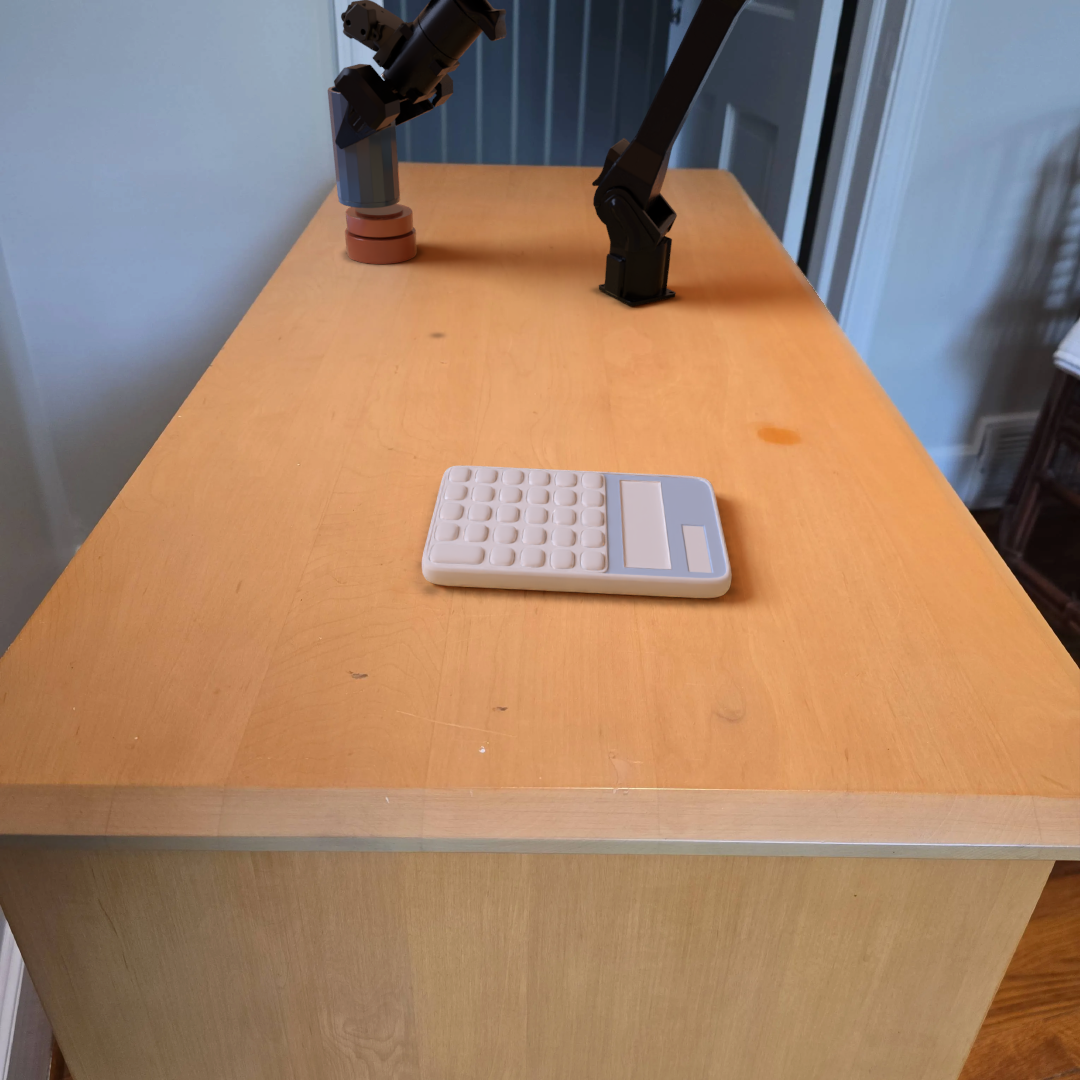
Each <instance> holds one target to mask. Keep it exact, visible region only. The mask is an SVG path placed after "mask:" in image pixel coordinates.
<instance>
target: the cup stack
mask: <svg viewBox="0 0 1080 1080" xmlns="http://www.w3.org/2000/svg"><path fill="white" fill-rule="evenodd" d="M413 214H414V213H413V209H412V208H411V207H410V206H407V205H405V204H400V203H397V204H394V205H391V206H387V207H380V208H355V207H348V208H347V209H346V210H345V221H346V228H345V230H344V239H345V249H346V251H345V252H346V255H347V257H348V258H349V259H351V260H353V261H355V262H359V263H363V264H370V265H371V264H372V265H390V264H397V263H402V262H406V261H409V260H412V259H413V258H414V257H416V256H417V254H418V249H417V248H418V247H417V246H418V245H417V229H416V227H414V215H413Z"/></svg>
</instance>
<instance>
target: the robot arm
mask: <svg viewBox="0 0 1080 1080" xmlns="http://www.w3.org/2000/svg"><path fill="white" fill-rule="evenodd" d="M750 2H751V0H700V2H699V4H698V6H697V9H696V10H695V13H694V15H693V16H692V19H691V21H690V22H689V25H688V27H687V30H686V32H685V33H684V36H683V37H682V39H681V42H680V43H679V46H678V48H677V50H676V52H675V54H674V56H673V58H672V60H671V63H670V64H669V66H668V69H667V71H666V73H665V74H664V76H663V79H662V81H661V83H660V85H659V87H658V88H657V91H656V93H655V95H654V98H653V100H652V102H651V104H650V106H649V108H648V110H647V112H646V113H645V116H644V118H643V120H642V122H641V125H640V127H638V128H639V129H638V130H637V133H636V134H635V136H634V137H633V138H632V140H631V141H628V139H626V138H625V137H623V138H622V139H621V140H619V141H618V142H617V143H615V144H614V145H613V146H611V147H609V148H608V151H607V154H606V157H605V160H604V163H603V167H602V169H601V172H600V174H599V175H598V176H597V178H596V179H594V180H593V181H592V184H591V186H593V187H597V188H596V189H595V192H594V195H593V201H592V205H593V207H594V210H595V214H596V216H597V217H598V219H599V220H600V222H601V223H602V224H603V225H605V227H606V231H607V235H608V238H609V253H607V254H606V259H605V260H606V261H605V275H604V283H601V284H598V291H601V292H602V293H604V294H607V295H608V296H610V297H612V298H613V299H615V300H618V301H620V302H621V303H623V304H626V305H628V306H630V307H635V306H640V305H641V306H642V305H645V304H650V303H654V302H655V303H656V302H660V301H664V300H668V299H673V298H675V297H676V294H677V293H676V291H674V290H671V289H670V288H668V282H669V272H670V271H669V270H670V262H671V253H672V244H673V243H672V242H673V238H671V237H668V236H666V235H667V234H668V233H670V231H671V229H672V227H673V225H674V223H675V221H676V219H677V217H678V213H677V212H676V211H675V210H674V208H673V207H672V205H671V204H670V203H669V202H668V200H666V198H665V197H664V196H663V194H662V193H661V191H662V187H663V184H664V181H665V178H666V175H667V172H668V169H669V168H668V167H669V163H670V158H671V154H672V150H673V148H674V144H675V143H676V141H677V139H678V137H679V135H680V132H681V131H682V129H683V127H684V125H685V123H686V121H687V120H688V117H689V115H690V113H691V111H692V109H693V107H694V106H695V104H696V102H697V100H698V98H699V96H700V93H702V90H703V89H704V86H705V84H706V82H707V80H708V78H709V76H710V74H711V73H712V71H713V69H714V66H715V64H716V63H717V61H718V59H719V57H720V55H721V53H722V51H723V49H724V47H725V45H726V44H727V41H728V39H729V37H730V35H731V33H732V31H733V29H734V27H735V26H736V24H737V22H738V20H739V18H740V15H741V14H742V12H743V11H744V10H745V9H746V7H747V6H748V4H749V3H750ZM506 15H507V11H506V9H505V8H502V9H501V8H500V9H497V8H494V7H493V6H492V4H491V3H490V2H489V1H488V0H430V1H428V3H427V4H426V5H425V7H424V8H423V9H422V10H421V11H420V12H419V14H418V15H417V17H416V18H415V19H414V20H413V21H410V22H408V21H404V20H403V19H401V17H399V16H398V15H396V14H394V13H392V12H391V11H390V10H388V9H386V8H385V7H383V6H381V5H380V4H378V3H376V2H375V1H372V0H354V1H351V3H350V4H348V5H347V8H346V10H345V11H344V12H341V14H340V19H341V21H342V22H343V23H342V28H343V30H342V33H343V34H344V36H346V37H347V38H349V39H350V40H352V39H354V40H355V41H357V42H358V43H360V44H362V45H363V46H365V47H366V48H368V49H370V50H371V51H374V52H376V53H374V55H373V56H372V59H373V61H374V62H375V63H376V64H377V65H378V67H379V68H382V69H383V70H384V71H383V72H382V73H381V74H379V73H378V72H377V71H376V69H375V68H374V67H373V65H372V64H366V63H365V64H364V63H357V64H354V65H350V66H346V67H343V68H342V70H341V71H340V72H339V73H338V75H337V76H336V78H335V79H334V80H333V84H334V86H335V87H336V88H337V89H338V91H339V92H340V93H341V94H342V95H343V96H344V98H345V99H346V100H347V108H346V111H345V115H344V117H343V120H342V123H341V126H340V129H339V131H338V134H337V137H336V140H335V143H336V144H337V146H338V147H339V148H340V149H344V148H346V147H348V146H350V145H352V144H355V143H357V142H359V141H361V140H363V139H365V138H367V137H369V136H371V135H373V134H375V133H378V132H380V131H382V130H384V129H386V128H388V127H390V126H391V124H390V123H391V122H392V121H393V120H394V119H395V118H396V127H398V126H400V125H402V124H405V123H406V122H409V121H411V120H413V119H415V118H417V117H420V116H421V115H424V114H426V113H429V112H430V111H433V110H434V108H437V107H439V106H442V105H444V104H445V103H446V102H447V101H448V100H449V98H450V97H451V96H452V95H453V94H454V80H453V78H452V77H451V76H450V74H449V73H452V72H454V71H456V70H457V68H458V67H459V66H460V65H461V62H460V61H459V60H460V58H461V57H462V56H463V55H464V54H465V53H466V51H467V50H469V48H470V47H471V46H472V45H473V43H474V42H475V41H476V40H477V38H478V37H479V36H480V35H481V34H482V33H484V35H485V36H486V37H487V38H488V40H489V41H490V42H495V41H498V40H501V39H505V38H506V37H507V35H508V33H507V25H506ZM434 95H435V96H434ZM433 97H434V98H433ZM431 98H432V100H430V99H431Z"/></svg>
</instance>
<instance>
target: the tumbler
mask: <svg viewBox="0 0 1080 1080" xmlns="http://www.w3.org/2000/svg"><path fill="white" fill-rule="evenodd" d="M327 99H328V108H329V109H328V110H329V120H330V131H331V139H332V140H331V141H332V150H333V161H334V171H335V181H336V191H337V193H336V194H337V198H338V202H339V203H340V204H341V205H343V206H345V207H348V208H350V207H355V208H380V207H387V206H391V205H394V204H399V203H400V201H401V185H400V171H399V169H400V168H399V167H400V166H399V153H398V151H399V150H398V136H397V135H398V134H397V126H396V118H395V119H394V120H393V121H392V122H391V123H390V124H391V126H390V127H388V128H386V129H384V130H382V131H380V132H378V133H375V134H373V135H371V136H369V137H367V138H365V139H363V140H361V141H359V142H357V143H355V144H352V145H350V146H348V147H346V148H344V149H340V148H339V147H338V146H337V144H336V143H335V140H336V137H337V134H338V131H339V129H340V126H341V123H342V120H343V117H344V115H345V111H346V108H347V100H346V99H345V98H344V96H343V95H342V94H341V93H340V92H339V91H338V89H337V88H336V87H335V85H333V86H330V87H328V88H327Z"/></svg>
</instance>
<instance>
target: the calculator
mask: <svg viewBox="0 0 1080 1080" xmlns="http://www.w3.org/2000/svg"><path fill="white" fill-rule="evenodd" d="M718 506H719V505H718V501H717V497H716V492H715V489H714V486H713V484H712V483H711V481H709V479H707V478H705V477H701V476H695V475H683V474H682V475H680V474H663V473H640V472H639V473H638V472H637V473H636V472H618V471H616V472H615V471H598V470H597V471H596V470H595V471H593V470H576V469H575V470H574V469H551V468H531V467H529V468H528V467H512V466H511V467H509V466H489V465H488V466H486V465H463V464H462V465H453V466H449V467H448V468H446V470H445V471H444V472H443V474H442V477H441V481H440V484H439V488H438V492H437V497H436V501H435V503H434V508H433V514H432V515H431V516H432V517H431V520H430V524H429V528H428V532H427V536H426V540H425V544H424V548H423V553H422V557H421V572H422V576H423V577H424V579H425V580H426V581H427V582H429V583H430V584H433V585H438V586H447V587H464V588H465V587H466V588H483V589H484V588H485V589H507V590H525V591H526V590H527V591H546V592H547V591H548V592H565V593H588V594H607V595H628V596H629V595H631V596H648V597H649V596H651V597H670V598H691V599H714V598H718V597H721V596H724V595H725V594H726V593H727V592H728V591H729V590H730V587H731V584H732V577H733V576H732V566H731V561H730V558H729V557H730V556H729V552H728V548H727V543H726V538H725V534H724V529H723V525H722V519H721V516H720V510H719V507H718Z"/></svg>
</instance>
